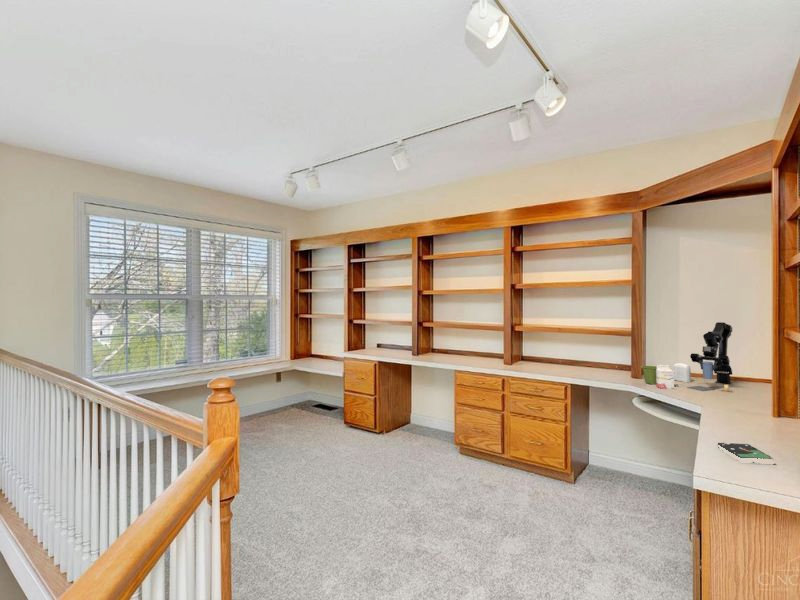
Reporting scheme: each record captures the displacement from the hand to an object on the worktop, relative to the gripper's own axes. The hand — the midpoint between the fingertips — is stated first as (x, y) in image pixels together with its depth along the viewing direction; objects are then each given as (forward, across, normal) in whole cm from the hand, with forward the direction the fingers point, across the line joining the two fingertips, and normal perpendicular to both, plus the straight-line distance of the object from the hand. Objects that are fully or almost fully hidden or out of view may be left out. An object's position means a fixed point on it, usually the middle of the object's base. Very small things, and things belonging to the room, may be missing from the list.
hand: (707, 369), depth 243 cm
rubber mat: (+9, -4, +10) cm, 14 cm away
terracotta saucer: (+8, +8, +12) cm, 16 cm away
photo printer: (-8, -20, +28) cm, 35 cm away
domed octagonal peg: (+3, 0, +5) cm, 6 cm away
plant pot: (+7, -32, +13) cm, 35 cm away
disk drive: (+88, +37, -68) cm, 117 cm away
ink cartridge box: (+13, -21, +6) cm, 26 cm away
